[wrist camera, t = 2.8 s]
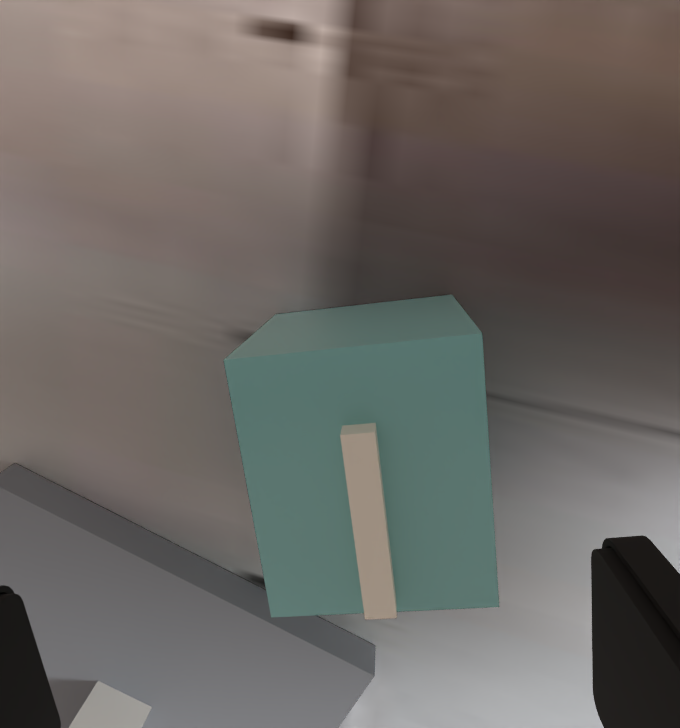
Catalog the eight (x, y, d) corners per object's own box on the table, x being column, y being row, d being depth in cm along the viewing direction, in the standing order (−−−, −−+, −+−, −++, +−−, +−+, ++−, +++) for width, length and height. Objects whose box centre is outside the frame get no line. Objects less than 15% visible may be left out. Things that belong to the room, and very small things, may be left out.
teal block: (275, 314, 19) (215, 366, 12) (451, 294, 18) (486, 339, 12) (305, 501, 21) (266, 634, 14) (466, 490, 20) (504, 623, 13)
